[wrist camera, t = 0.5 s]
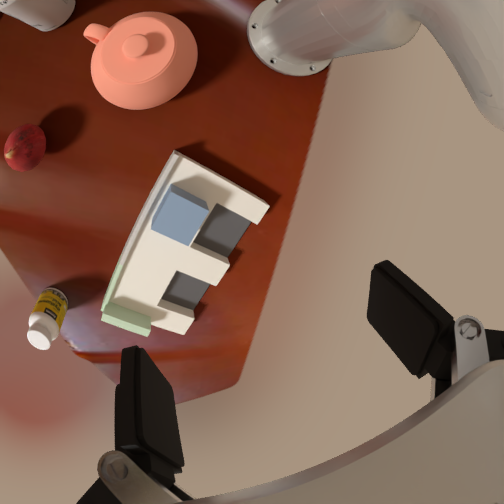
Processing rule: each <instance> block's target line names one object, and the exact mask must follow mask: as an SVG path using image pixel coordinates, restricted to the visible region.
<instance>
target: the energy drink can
mask: <svg viewBox="0 0 504 504" xmlns="http://www.w3.org/2000/svg"><path fill="white" fill-rule="evenodd" d="M74 7H75V0H0V11H1V12H3V13H6V14H8V15H10V16H12V17H14V18H17V19H19V20H21V21H23V22H25V23H27V24H29V25H31V26H33V27H35V28H37V29H39V30H41V31H50V30H53V29H55V28H57V27H59V26H61V25H62V24H63V23H64V22H66V21H67V19H68V18H69V17H70V16H71V14H72V12H73V10H74Z"/></svg>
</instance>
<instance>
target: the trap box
mask: <svg viewBox="0 0 504 504" xmlns="http://www.w3.org/2000/svg"><path fill="white" fill-rule="evenodd" d="M170 184H173V185H175V186H177V187H179V188H181V189H183V190H185V191H186V192H188V193H190V194H192V195H194V196H196V197H198V198H200V199H202V200H204V201H206V203H207V206H208V209H209V213H208V214H207V216H206V218H205V219H204V221H203V223H202V224H201V226H200V228H199V229H198V231H197V233H196V234H195V236H194V238H193V239H192V241H191V243H190V244H189V246H186V245H184V244H182V243H180V242H177V241H175V240H173V239H171V238H169V237H166V236H164V235H162V234H160V233H158V232H156V231H153V230H151V224H152V218H153V216H154V214H155V212H156V210H157V208H158V206H159V204H160V203H161V201H162V199H163V197H164V195H165V193H166V192H167V190H168V188H169V186H170ZM269 207H270V206H269V205H268V204H267V203H266V202H265V201H264V200H263V199H261V198H259V197H258V196H256V195H254V194H252V193H251V192H249V191H247V190H246V189H244V188H242V187H240V186H239V185H237V184H235V183H234V182H232V181H230V180H228V179H227V178H225V177H223V176H221V175H219V174H218V173H216V172H214V171H212V170H211V169H209V168H207V167H205V166H203V165H201V164H200V163H198V162H196V161H194V160H192V159H190V158H189V157H187V156H185V155H183V154H181V153H179V152H177V151H176V150H174V151H173V153H172V154H171V156H170V158H169V160H168V161H167V163H166V165H165V167H164V168H163V170H162V172H161V174H160V176H159V177H158V179H157V181H156V183H155V185H154V187H153V189H152V191H151V192H150V194H149V196H148V198H147V200H146V202H145V204H144V206H143V208H142V210H141V212H140V214H139V216H138V218H137V220H136V223H135V225H134V227H133V229H132V231H131V233H130V235H129V238H128V240H127V242H126V244H125V247H124V249H123V251H122V254H121V256H120V258H119V261H118V263H117V265H116V268H115V270H114V273H113V275H112V278H111V280H110V283H109V285H108V288H107V291H106V293H105V296H104V300H103V304H102V308H101V311H103V314H102V318H101V321H104V322H107V323H109V324H112V325H115V326H118V327H120V328H123V329H126V330H129V331H132V332H135V333H138V334H141V335H144V336H147V337H148V335H149V333H150V331H151V325H154V326H157V327H160V328H163V329H166V330H169V331H172V332H176V333H179V334H182V335H184V334H185V333H186V331H187V330H188V328H189V326H190V325H191V323H192V322H193V320H194V319H195V318H194V312H193V310H194V308H195V307H196V305H197V304H198V302H199V301H200V299H201V297H202V296H203V294H204V293H205V291H206V290H207V288H208V287H209V285H210V284H212V285H215V286H217V284H218V283H219V281H220V280H221V278H222V277H223V275H224V274H225V272H226V271H227V269H228V268H229V266H230V263H229V261H228V256H229V255H230V253H231V252H232V250H233V249H234V247H235V245H236V244H237V242H238V241H239V239H240V238H241V236H242V235H243V233H244V232H245V230H246V229H247V227H248V226H249V224H250V223H251V221H252V222H254V223H255V224H257V225H258V223H259V222H260V220H261V219H262V217H263V216H264V214H265V213H266V211H267V210H268V208H269Z"/></svg>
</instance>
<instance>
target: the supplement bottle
mask: <svg viewBox="0 0 504 504" xmlns="http://www.w3.org/2000/svg"><path fill="white" fill-rule="evenodd" d="M67 309H68V300H67V298H66V296H65V295H64V294H63V293H62V292H61V291H60V290H58V289H56V288H46V289H45V290H43V292H42V293H41V295H40V297H39V299H38V301H37V303H36V305H35V307H34V309H33V311H32V313H31V315H30V318H29V326H30V328H29V331H28V333H27V338H28V340H29V342H30V343H31V344H32V345H33V346H35V347H36V348H38V349H41V350H47V349H48V348H49V347H50V345H51V342H52V341H53V340H55V339H56V338H57V336H58V334H59V332H60V328H61V325H62V323H63V320H64V317H65V314H66V312H67Z"/></svg>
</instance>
